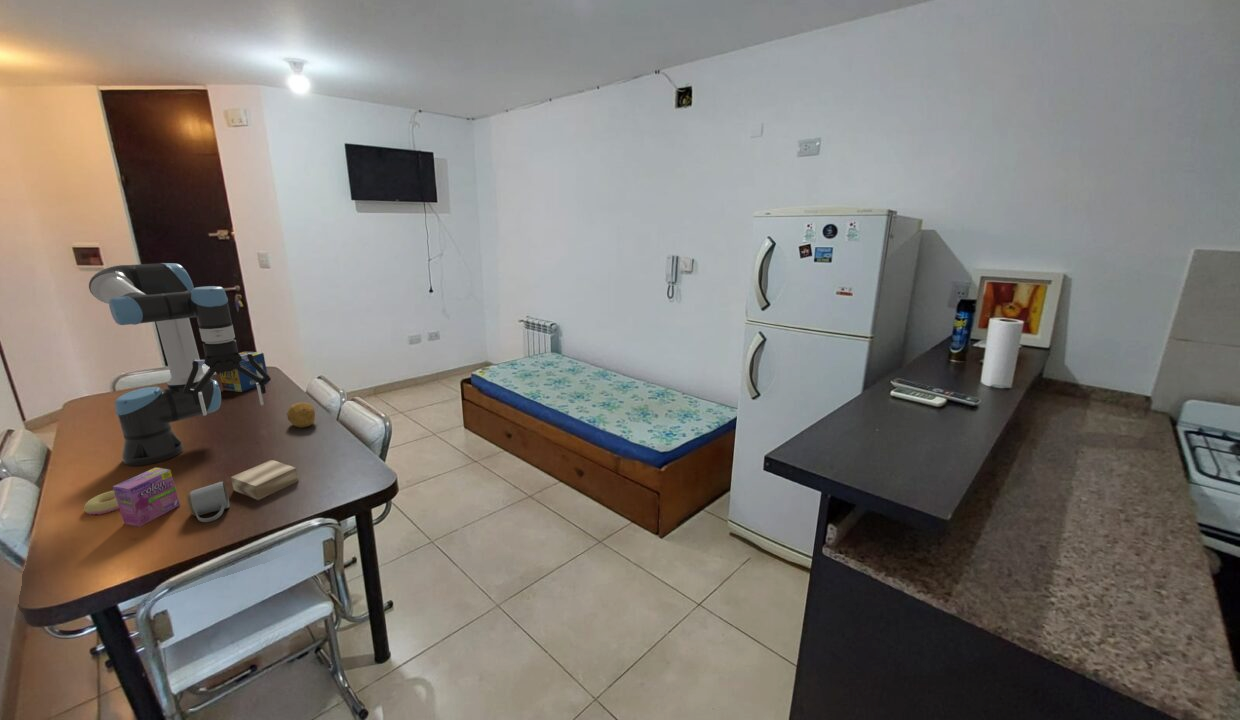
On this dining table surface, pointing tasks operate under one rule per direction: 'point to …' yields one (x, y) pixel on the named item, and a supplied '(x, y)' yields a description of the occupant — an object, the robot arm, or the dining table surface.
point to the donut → (102, 503)
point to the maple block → (264, 479)
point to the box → (146, 496)
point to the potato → (301, 414)
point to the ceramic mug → (208, 501)
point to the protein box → (238, 379)
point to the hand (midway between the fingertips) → (234, 408)
